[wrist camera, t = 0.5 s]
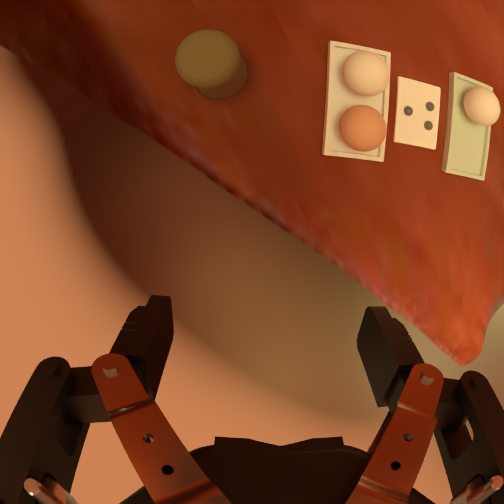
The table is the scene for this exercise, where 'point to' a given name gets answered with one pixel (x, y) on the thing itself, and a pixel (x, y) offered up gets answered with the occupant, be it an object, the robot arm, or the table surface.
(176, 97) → the table surface
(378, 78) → the ball
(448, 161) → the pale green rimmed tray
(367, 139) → the ball
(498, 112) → the ball
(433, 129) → the card
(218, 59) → the olive green waisted cylinder
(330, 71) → the egg tray
